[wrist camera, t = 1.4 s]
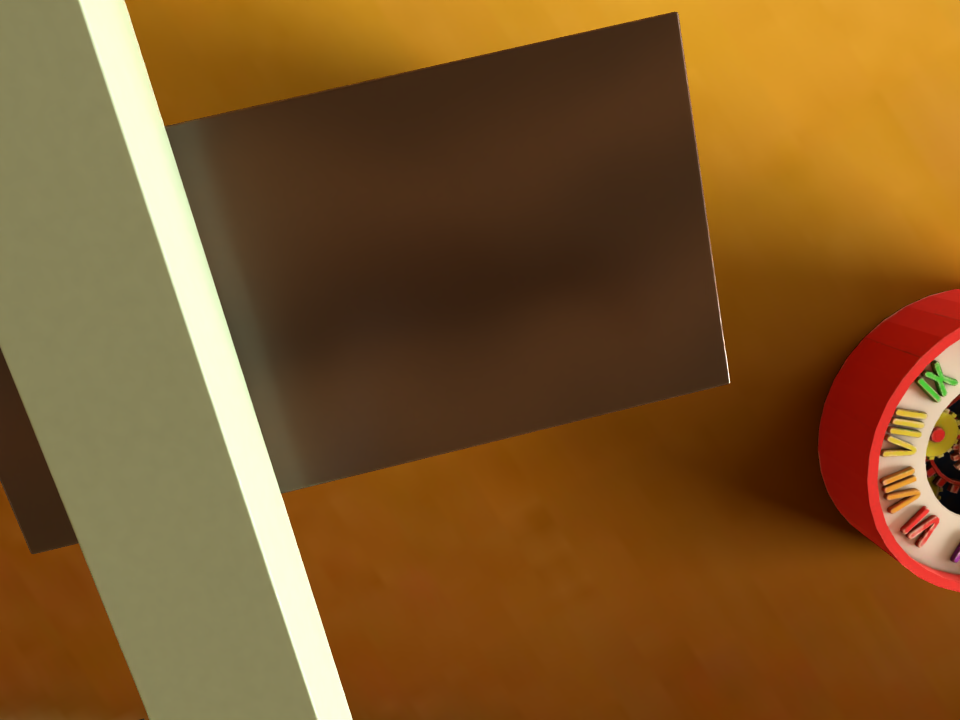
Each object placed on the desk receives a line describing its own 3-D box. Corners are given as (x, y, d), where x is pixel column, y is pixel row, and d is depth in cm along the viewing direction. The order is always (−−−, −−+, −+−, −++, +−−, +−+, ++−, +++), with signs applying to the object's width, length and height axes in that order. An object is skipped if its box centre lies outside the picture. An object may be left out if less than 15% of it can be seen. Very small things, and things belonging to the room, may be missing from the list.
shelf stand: (194, 180, 45) (-125, 190, 18) (517, 107, 46) (679, 9, 19) (244, 339, 48) (30, 556, 20) (548, 266, 48) (731, 384, 21)
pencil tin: (-49, 31, 17) (-140, 2, 14) (123, -6, 17) (67, -42, 15) (237, 790, 23) (212, 879, 20) (364, 756, 23) (359, 840, 20)
